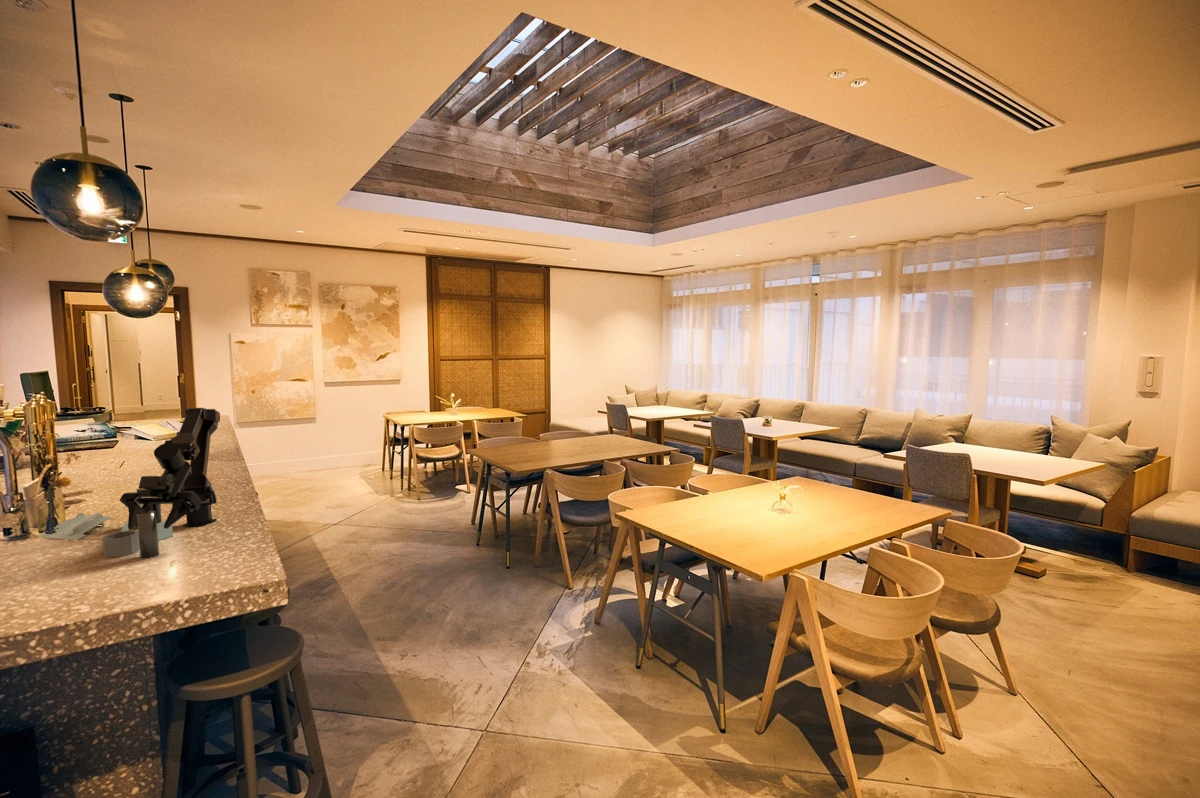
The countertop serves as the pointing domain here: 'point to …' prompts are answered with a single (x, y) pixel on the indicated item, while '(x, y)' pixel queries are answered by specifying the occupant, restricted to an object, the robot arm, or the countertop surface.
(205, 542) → the countertop surface
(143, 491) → the supplement bottle
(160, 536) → the grey forked piece
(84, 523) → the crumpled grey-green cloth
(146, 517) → the hinge pin
